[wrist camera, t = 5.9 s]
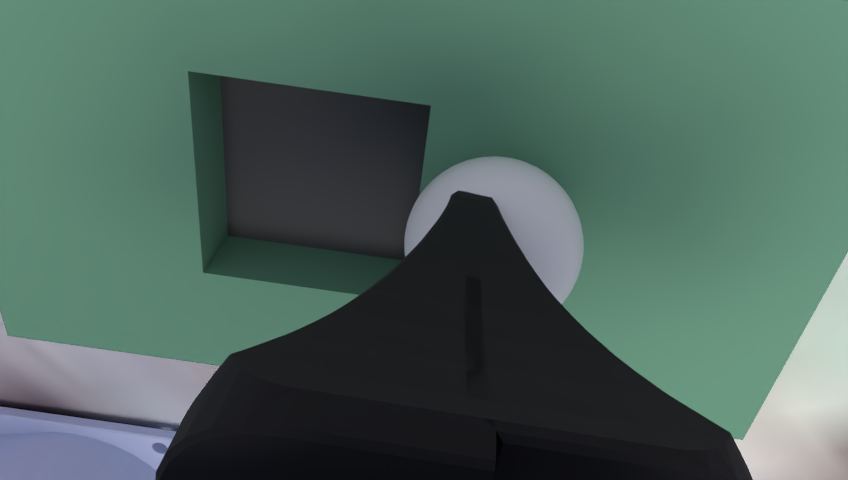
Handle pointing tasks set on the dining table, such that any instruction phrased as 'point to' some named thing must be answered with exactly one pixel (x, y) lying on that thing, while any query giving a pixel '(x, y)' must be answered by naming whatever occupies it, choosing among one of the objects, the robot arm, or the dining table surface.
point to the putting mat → (423, 166)
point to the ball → (512, 214)
